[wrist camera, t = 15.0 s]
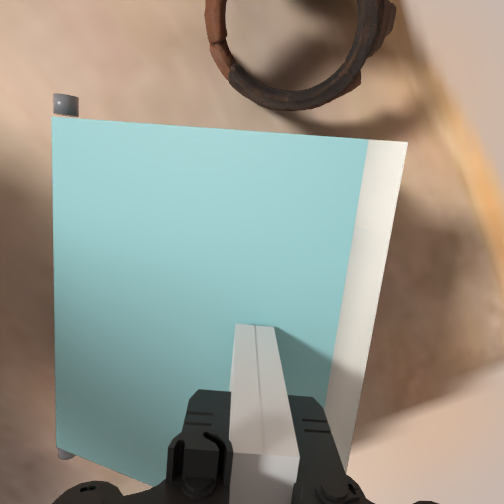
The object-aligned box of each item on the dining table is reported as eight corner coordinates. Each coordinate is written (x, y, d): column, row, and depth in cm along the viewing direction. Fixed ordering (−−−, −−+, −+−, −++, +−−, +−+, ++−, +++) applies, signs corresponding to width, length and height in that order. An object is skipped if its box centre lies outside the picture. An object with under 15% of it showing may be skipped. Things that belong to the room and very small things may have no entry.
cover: (68, 437, 20) (56, 446, 19) (66, 119, 17) (51, 116, 16) (332, 541, 16) (330, 558, 15) (406, 144, 12) (408, 142, 12)
